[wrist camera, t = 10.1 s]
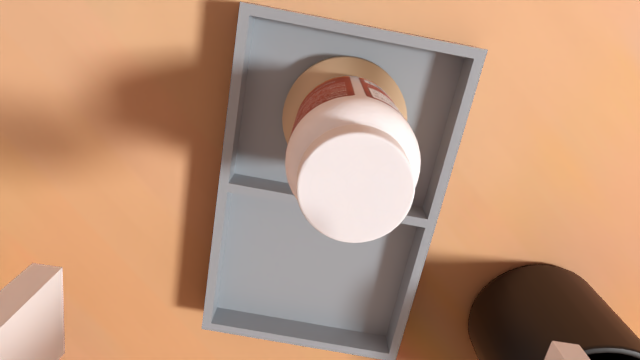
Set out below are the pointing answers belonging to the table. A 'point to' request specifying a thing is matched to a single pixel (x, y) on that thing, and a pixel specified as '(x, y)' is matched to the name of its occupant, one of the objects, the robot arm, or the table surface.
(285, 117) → the coaster
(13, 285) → the robot arm
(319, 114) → the pill bottle
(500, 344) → the mug
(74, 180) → the table surface
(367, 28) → the caddy
